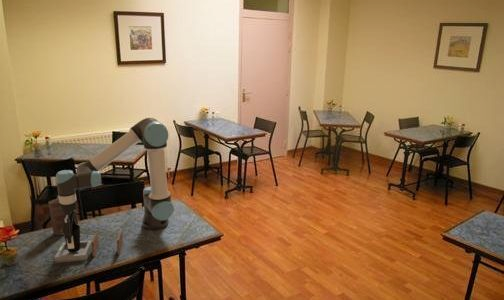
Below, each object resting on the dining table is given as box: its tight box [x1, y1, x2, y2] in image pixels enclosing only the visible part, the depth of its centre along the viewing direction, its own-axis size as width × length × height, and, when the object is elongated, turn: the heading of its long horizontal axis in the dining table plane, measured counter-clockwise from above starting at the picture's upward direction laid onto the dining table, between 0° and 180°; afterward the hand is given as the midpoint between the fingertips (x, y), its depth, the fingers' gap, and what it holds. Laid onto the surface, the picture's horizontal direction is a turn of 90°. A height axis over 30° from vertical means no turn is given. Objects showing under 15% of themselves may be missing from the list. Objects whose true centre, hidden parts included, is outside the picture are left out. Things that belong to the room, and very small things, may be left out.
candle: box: [48, 197, 65, 236], centre depth 204 cm, size 8×7×20 cm
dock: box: [54, 240, 92, 264], centre depth 187 cm, size 14×14×3 cm
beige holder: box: [91, 230, 124, 257], centre depth 191 cm, size 13×10×8 cm
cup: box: [63, 224, 81, 252], centre depth 186 cm, size 8×8×12 cm
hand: (73, 243), depth 186 cm, fingers closed on cup, 8 cm apart
